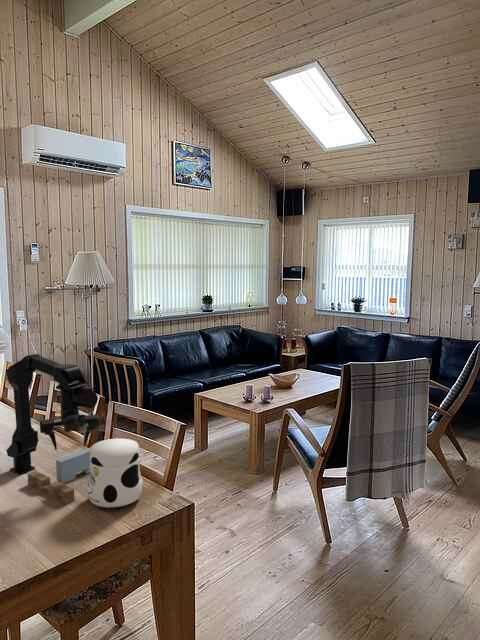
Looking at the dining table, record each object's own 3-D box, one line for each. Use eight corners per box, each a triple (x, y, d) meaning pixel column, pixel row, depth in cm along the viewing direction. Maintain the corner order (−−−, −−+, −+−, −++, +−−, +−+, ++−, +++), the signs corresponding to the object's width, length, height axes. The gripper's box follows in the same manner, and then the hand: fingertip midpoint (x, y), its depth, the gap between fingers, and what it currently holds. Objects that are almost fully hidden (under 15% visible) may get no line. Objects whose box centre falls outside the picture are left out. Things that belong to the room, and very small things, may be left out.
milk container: (77, 500, 160) (75, 447, 158) (121, 483, 173) (121, 433, 171) (108, 519, 149) (107, 462, 147) (153, 499, 162) (153, 446, 160)
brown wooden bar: (28, 484, 171) (27, 473, 170) (36, 481, 173) (35, 470, 173) (66, 504, 158) (65, 492, 157) (74, 500, 160) (74, 488, 160)
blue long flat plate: (56, 481, 173) (56, 459, 172) (94, 466, 186) (94, 446, 185) (61, 484, 172) (61, 462, 171) (99, 468, 185) (99, 448, 184)
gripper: (40, 413, 155) (42, 461, 157) (102, 407, 163) (102, 452, 165) (39, 403, 165) (40, 448, 167) (96, 398, 173) (97, 440, 175)
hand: (70, 447), depth 168 cm, fingers open, 9 cm apart
